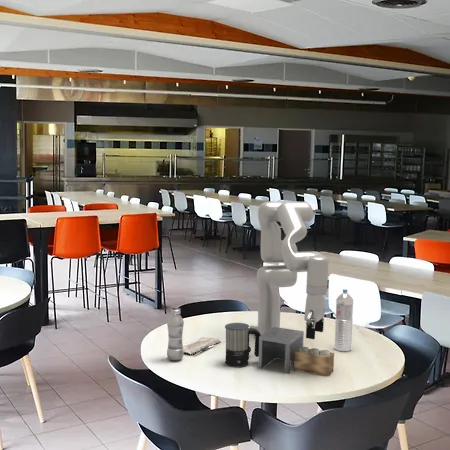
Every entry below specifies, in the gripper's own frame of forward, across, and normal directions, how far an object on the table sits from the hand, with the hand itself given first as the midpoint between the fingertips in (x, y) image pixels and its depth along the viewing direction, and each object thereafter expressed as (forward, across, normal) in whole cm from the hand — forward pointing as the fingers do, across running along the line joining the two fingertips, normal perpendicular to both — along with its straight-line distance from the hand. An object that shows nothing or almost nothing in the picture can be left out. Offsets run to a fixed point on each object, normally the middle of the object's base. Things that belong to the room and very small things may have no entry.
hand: (314, 334), depth 232 cm
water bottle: (+14, -30, +3) cm, 33 cm away
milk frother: (+14, +3, -29) cm, 33 cm away
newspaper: (+15, -4, -50) cm, 53 cm away
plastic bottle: (+14, +15, -50) cm, 54 cm away
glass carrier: (+14, 0, 0) cm, 14 cm away
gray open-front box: (+14, +1, -12) cm, 18 cm away
